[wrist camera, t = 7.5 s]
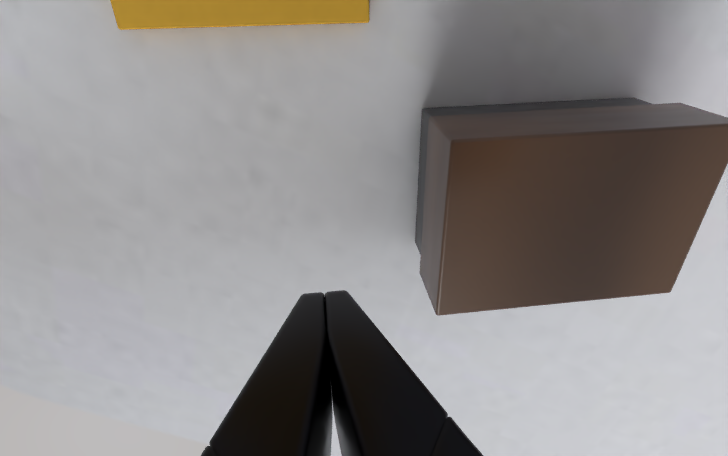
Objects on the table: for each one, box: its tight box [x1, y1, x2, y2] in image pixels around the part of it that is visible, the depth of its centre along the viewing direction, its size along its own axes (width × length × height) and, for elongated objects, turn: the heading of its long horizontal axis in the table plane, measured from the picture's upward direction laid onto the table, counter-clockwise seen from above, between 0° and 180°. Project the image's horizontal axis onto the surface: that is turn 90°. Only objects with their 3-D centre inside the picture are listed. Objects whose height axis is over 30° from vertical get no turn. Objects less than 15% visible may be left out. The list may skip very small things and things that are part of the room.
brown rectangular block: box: [415, 98, 728, 315], centre depth 12 cm, size 7×5×4 cm
